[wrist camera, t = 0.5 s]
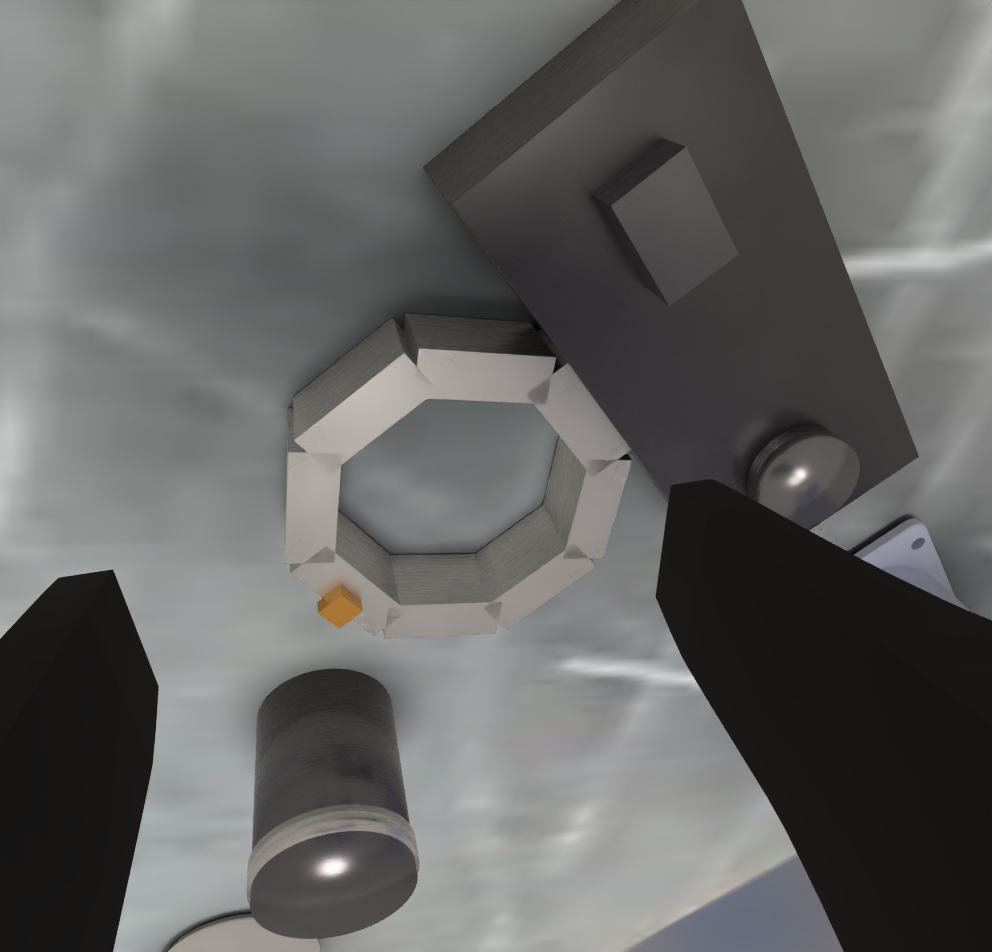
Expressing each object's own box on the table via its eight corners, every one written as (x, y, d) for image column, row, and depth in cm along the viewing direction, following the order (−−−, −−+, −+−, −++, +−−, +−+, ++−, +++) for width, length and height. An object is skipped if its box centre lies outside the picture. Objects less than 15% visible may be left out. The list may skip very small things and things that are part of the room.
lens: (421, 708, 26) (454, 876, 21) (319, 780, 26) (327, 957, 22) (330, 645, 23) (343, 818, 18) (220, 725, 24) (204, 914, 19)
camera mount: (838, 398, 23) (946, 476, 19) (457, 664, 25) (487, 780, 21) (648, -22, 15) (762, -28, 12) (135, 408, 18) (96, 517, 14)
